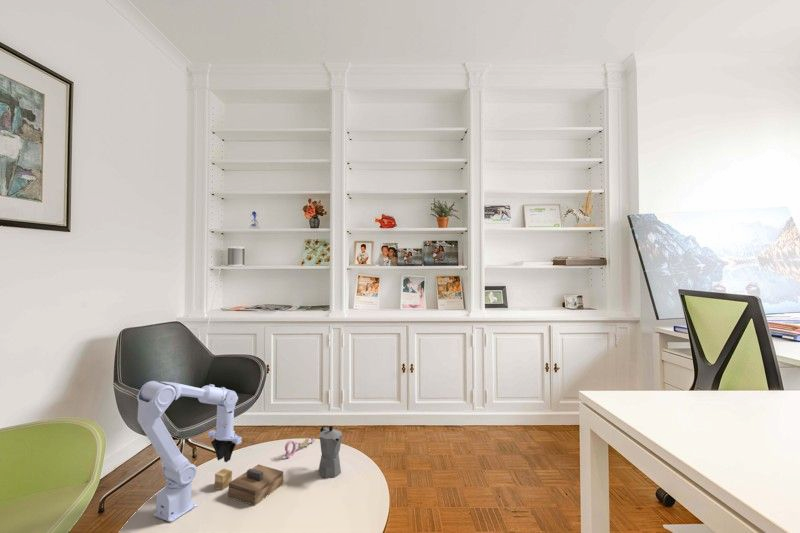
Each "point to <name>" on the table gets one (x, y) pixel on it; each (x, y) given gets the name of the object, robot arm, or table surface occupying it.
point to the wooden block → (223, 479)
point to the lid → (256, 479)
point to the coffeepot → (330, 452)
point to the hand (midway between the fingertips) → (223, 459)
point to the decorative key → (297, 446)
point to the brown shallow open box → (258, 496)
